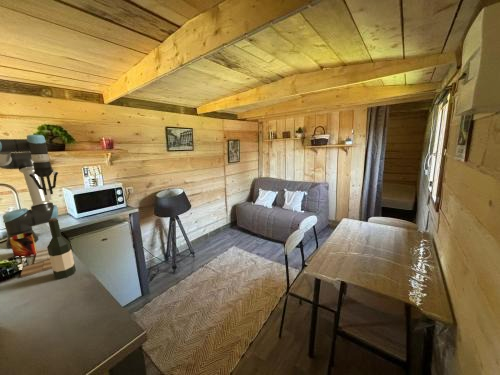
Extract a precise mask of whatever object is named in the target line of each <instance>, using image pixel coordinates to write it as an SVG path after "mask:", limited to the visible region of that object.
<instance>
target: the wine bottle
mask: <svg viewBox="0 0 500 375" xmlns="http://www.w3.org/2000/svg"><path fill="white" fill-rule="evenodd" d="M48 226H49V230H50V235H51V239H50V241H49V243H48V245H47V247H46V249H48V253H49V257H50V261H51V265H52V269H51V270H52V273H53V277H54V278H55V279H56V280H62V279H66V278H69V277H71V276H72V275H74V274H75V273H76V271H77V270H76V265H75V264H76V263H75V260H74V256H73V250H72V246H71V242H70V240H68V239H67V238H66V237H64V236H63V235H62V232H61V228H60V223H59V220H58V219H56V218H52V219H49V221H48Z"/></svg>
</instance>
